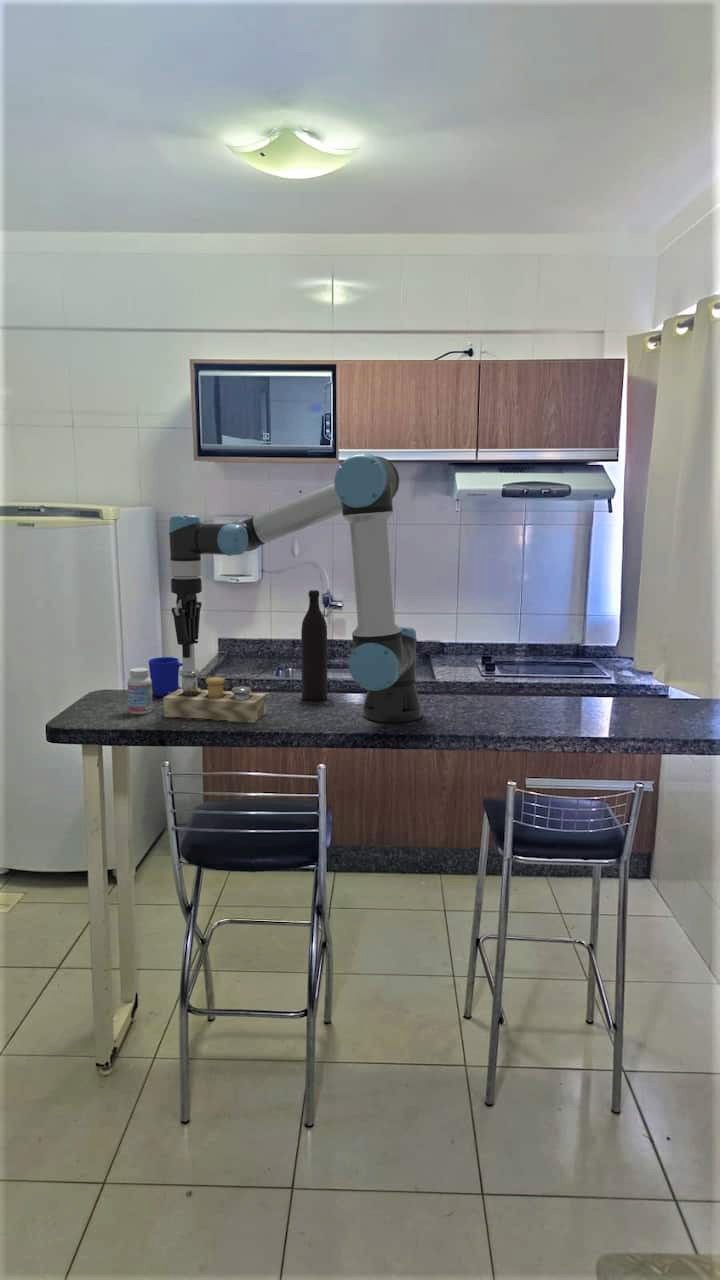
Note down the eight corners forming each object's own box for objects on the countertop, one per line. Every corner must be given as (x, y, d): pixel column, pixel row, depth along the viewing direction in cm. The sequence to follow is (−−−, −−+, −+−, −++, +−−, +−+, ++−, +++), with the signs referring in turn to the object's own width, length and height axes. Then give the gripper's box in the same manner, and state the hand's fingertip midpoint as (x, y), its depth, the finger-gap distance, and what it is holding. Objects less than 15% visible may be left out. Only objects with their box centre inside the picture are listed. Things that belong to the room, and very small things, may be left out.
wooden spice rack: (267, 712, 207) (266, 693, 206) (253, 722, 197) (253, 703, 196) (181, 706, 212) (180, 688, 211) (164, 716, 202) (163, 697, 201)
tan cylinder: (228, 702, 206) (227, 677, 205) (221, 707, 201) (220, 682, 200) (210, 701, 207) (210, 676, 206) (203, 706, 202) (202, 680, 201)
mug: (185, 699, 219) (184, 664, 217) (144, 697, 221) (143, 662, 220) (197, 692, 227) (196, 658, 225) (158, 690, 229) (156, 656, 227)
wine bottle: (328, 695, 225) (327, 589, 219) (326, 701, 218) (326, 592, 213) (303, 694, 225) (302, 589, 220) (300, 701, 218) (299, 592, 213)
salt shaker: (202, 694, 207) (201, 669, 206) (195, 699, 202) (194, 673, 201) (185, 693, 208) (184, 668, 207) (177, 697, 203) (176, 672, 202)
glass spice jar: (254, 711, 205) (253, 686, 204) (247, 716, 200) (247, 691, 199) (236, 710, 206) (235, 685, 205) (229, 715, 201) (228, 690, 200)
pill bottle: (124, 714, 205) (122, 671, 203) (136, 708, 210) (134, 666, 208) (145, 715, 203) (143, 672, 201) (157, 709, 209) (155, 667, 207)
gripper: (183, 574, 207) (186, 663, 211) (160, 579, 194) (163, 673, 198) (210, 575, 205) (212, 664, 209) (189, 580, 193) (191, 675, 197)
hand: (188, 669), depth 204 cm, fingers closed
